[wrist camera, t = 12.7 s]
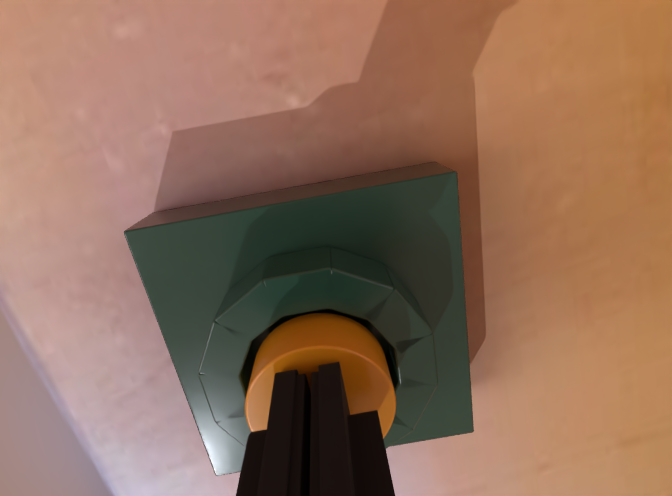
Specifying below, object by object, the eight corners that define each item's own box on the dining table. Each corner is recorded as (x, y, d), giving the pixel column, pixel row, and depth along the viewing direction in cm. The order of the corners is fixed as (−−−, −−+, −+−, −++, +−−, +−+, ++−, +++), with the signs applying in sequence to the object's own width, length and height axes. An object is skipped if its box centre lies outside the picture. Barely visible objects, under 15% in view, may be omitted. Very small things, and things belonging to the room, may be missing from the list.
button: (270, 430, 13) (264, 479, 11) (239, 324, 11) (226, 361, 10) (393, 409, 13) (404, 455, 11) (376, 300, 11) (386, 333, 10)
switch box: (227, 431, 17) (202, 524, 13) (151, 212, 14) (88, 252, 10) (455, 392, 17) (494, 474, 13) (436, 160, 13) (482, 182, 10)
